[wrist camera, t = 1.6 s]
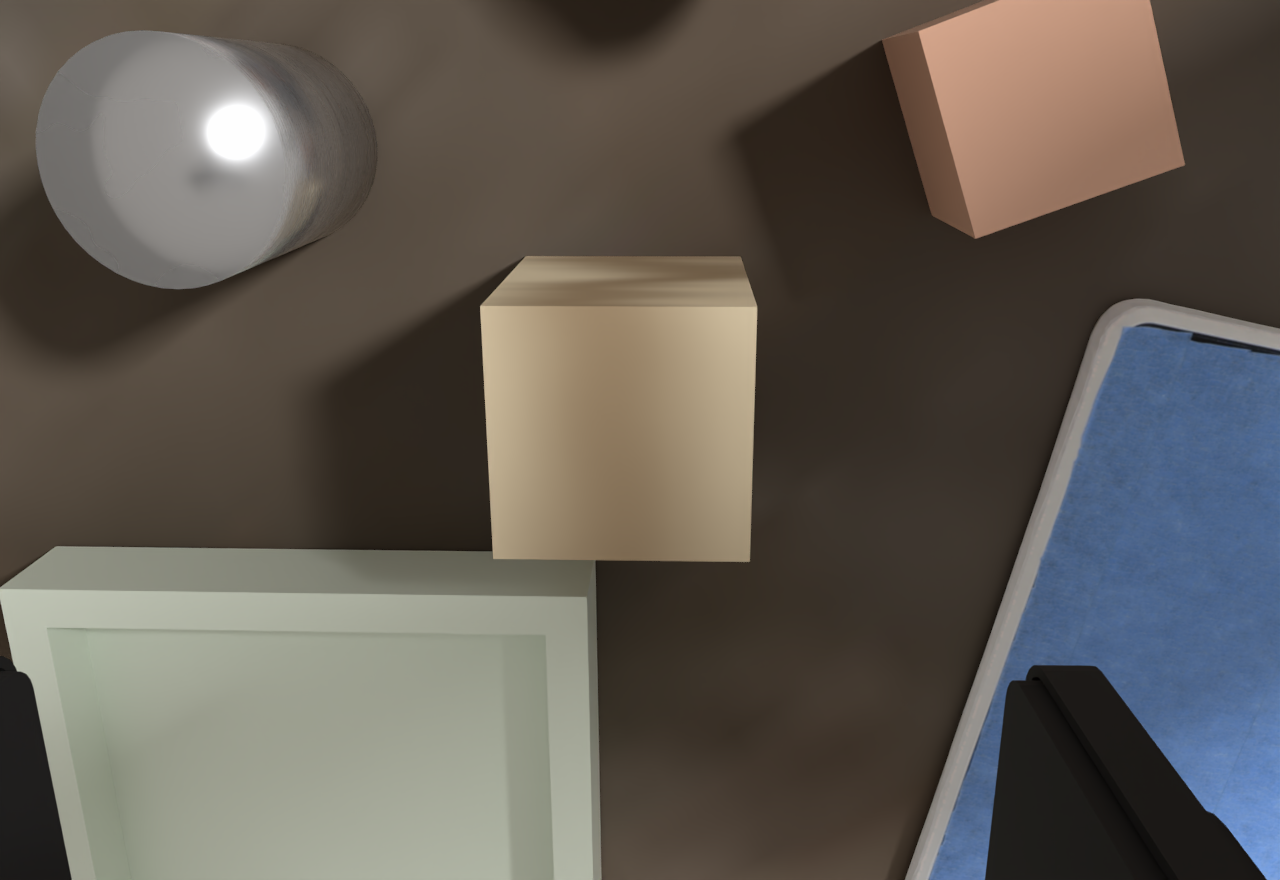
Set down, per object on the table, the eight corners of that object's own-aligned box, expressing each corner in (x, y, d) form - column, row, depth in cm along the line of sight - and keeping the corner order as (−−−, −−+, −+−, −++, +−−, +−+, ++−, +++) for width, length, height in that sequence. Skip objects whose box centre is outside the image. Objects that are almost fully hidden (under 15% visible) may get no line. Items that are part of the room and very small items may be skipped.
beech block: (740, 256, 25) (757, 306, 19) (735, 459, 27) (749, 561, 21) (526, 256, 25) (480, 306, 20) (533, 458, 27) (493, 558, 21)
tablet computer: (1097, 285, 25) (1118, 295, 24) (1606, 395, 26) (1653, 411, 25) (873, 931, 31) (882, 967, 30) (1288, 1012, 32) (1314, 1051, 31)
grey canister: (369, 42, 24) (270, 29, 18) (384, 243, 25) (297, 289, 20) (173, 43, 24) (14, 31, 18) (199, 242, 25) (59, 288, 20)
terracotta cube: (1063, -31, 23) (1137, -54, 19) (1106, 152, 24) (1185, 165, 20) (880, 39, 24) (918, 31, 20) (931, 215, 25) (975, 238, 21)
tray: (595, 552, 27) (587, 596, 25) (603, 988, 32) (597, 1061, 29) (55, 546, 28) (-3, 588, 26) (137, 976, 32) (93, 1046, 30)
